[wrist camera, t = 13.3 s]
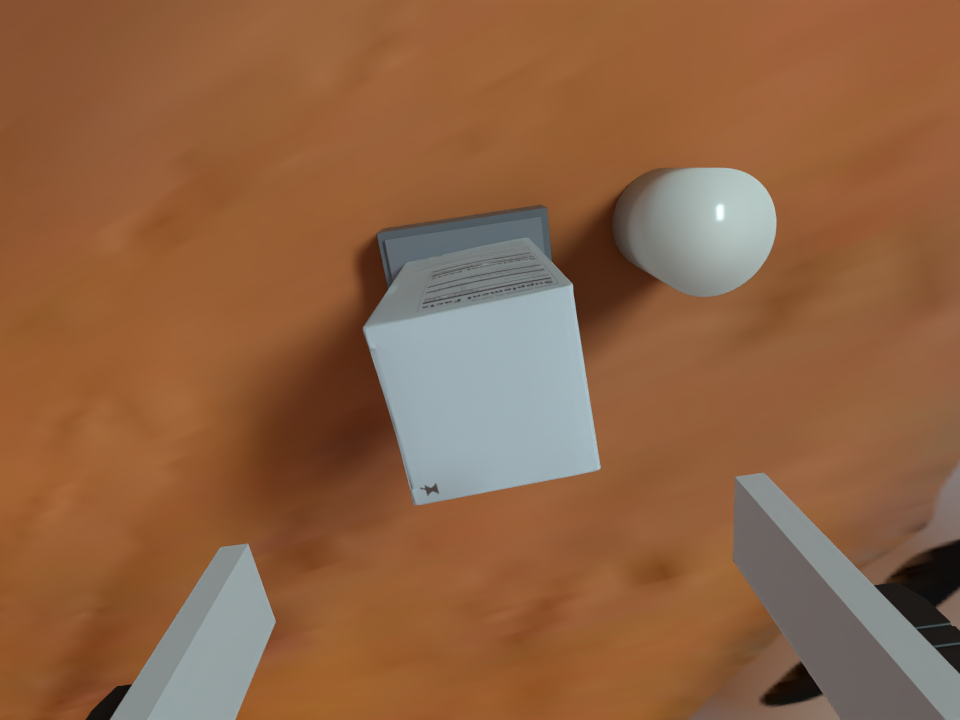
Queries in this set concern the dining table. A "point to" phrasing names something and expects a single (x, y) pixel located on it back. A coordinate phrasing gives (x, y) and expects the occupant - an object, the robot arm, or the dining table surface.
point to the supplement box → (483, 372)
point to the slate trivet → (461, 236)
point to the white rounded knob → (696, 227)
